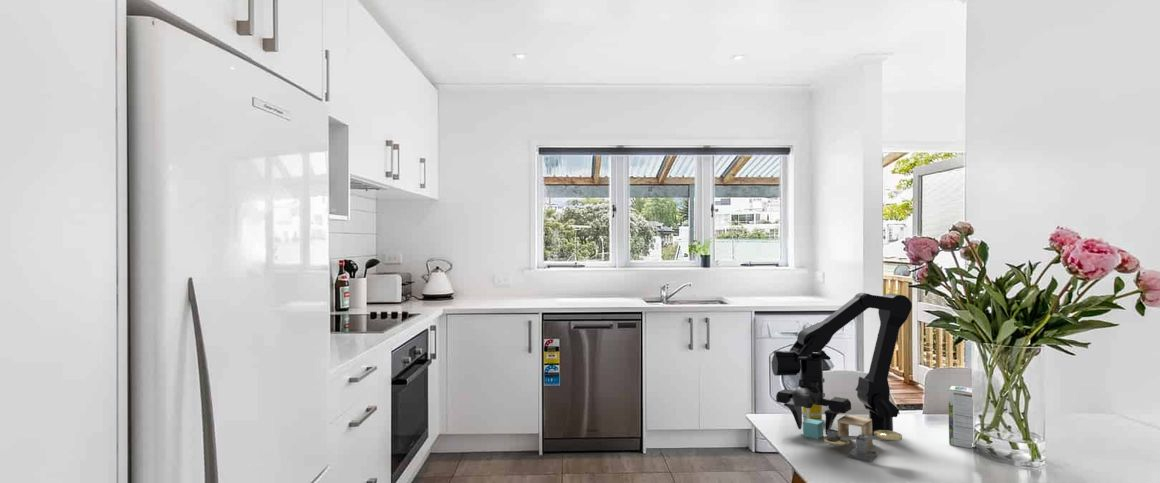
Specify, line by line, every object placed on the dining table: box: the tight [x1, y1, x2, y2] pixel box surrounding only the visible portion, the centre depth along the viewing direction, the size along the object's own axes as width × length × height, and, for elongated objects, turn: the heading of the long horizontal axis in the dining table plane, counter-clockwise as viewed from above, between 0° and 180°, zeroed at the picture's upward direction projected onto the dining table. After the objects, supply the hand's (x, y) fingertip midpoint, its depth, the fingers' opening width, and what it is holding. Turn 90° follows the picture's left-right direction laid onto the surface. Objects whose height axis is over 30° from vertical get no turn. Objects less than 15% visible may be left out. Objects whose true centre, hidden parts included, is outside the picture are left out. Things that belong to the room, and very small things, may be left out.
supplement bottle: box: [802, 404, 823, 421], centre depth 169 cm, size 5×5×10 cm
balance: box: [823, 428, 903, 463], centre depth 138 cm, size 6×18×7 cm, turn 46°
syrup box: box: [948, 385, 973, 449], centre depth 145 cm, size 6×6×14 cm
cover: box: [837, 414, 874, 449], centre depth 147 cm, size 6×6×6 cm
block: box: [802, 419, 825, 440], centre depth 154 cm, size 4×4×4 cm
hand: (813, 431), depth 154 cm, fingers open, 7 cm apart
